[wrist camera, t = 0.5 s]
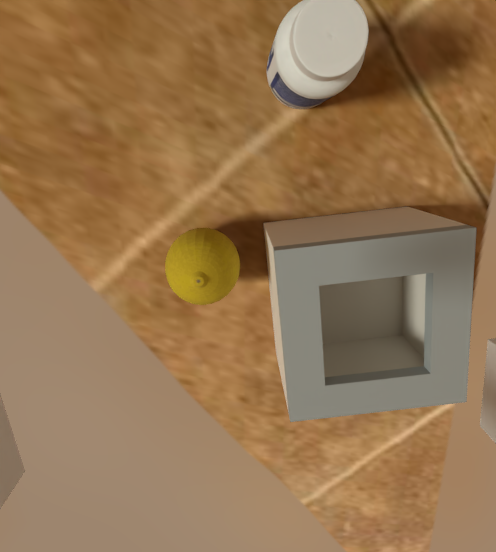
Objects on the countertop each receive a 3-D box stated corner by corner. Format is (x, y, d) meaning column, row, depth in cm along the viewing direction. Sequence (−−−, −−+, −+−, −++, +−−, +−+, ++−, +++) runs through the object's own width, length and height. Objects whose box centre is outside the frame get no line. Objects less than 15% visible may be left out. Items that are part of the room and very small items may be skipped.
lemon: (244, 226, 33) (247, 247, 26) (233, 288, 35) (233, 326, 27) (178, 214, 33) (160, 233, 25) (170, 278, 35) (151, 314, 27)
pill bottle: (344, 97, 31) (392, 73, 21) (277, 119, 31) (295, 104, 22) (327, 20, 29) (371, -42, 20) (257, 44, 30) (267, -7, 20)
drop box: (263, 222, 33) (274, 250, 24) (407, 206, 33) (476, 227, 24) (276, 352, 37) (290, 421, 27) (406, 337, 37) (466, 401, 27)
